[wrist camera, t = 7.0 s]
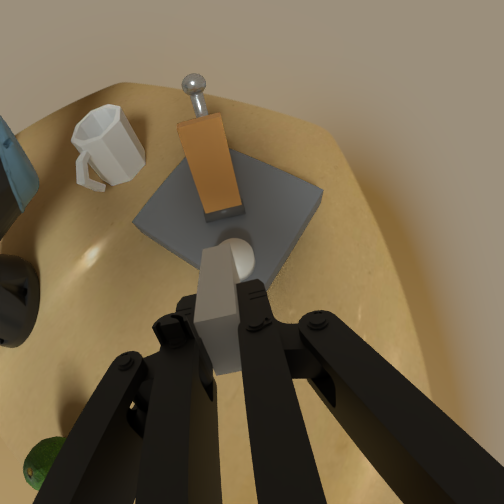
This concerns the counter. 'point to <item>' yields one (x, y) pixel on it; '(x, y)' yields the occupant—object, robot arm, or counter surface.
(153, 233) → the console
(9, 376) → the counter surface
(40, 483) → the avocado
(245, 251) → the push button
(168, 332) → the robot arm
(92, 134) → the mug
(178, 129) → the paddle switch
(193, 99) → the toggle lever
